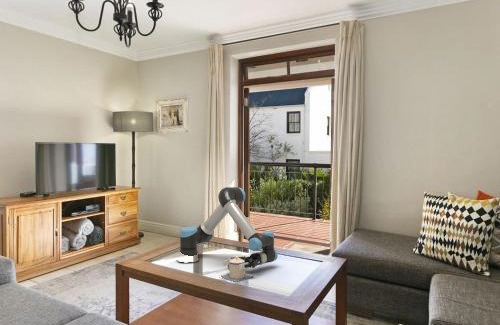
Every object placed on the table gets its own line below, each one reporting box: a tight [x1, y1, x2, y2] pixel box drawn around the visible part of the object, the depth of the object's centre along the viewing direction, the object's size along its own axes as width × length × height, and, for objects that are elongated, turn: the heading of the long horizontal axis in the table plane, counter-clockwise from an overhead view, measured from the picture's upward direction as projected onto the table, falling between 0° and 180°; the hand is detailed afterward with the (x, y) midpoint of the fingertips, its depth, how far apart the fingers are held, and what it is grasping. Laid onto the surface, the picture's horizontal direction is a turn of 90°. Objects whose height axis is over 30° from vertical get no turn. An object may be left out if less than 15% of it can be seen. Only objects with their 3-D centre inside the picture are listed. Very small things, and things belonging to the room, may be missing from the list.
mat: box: [220, 273, 254, 283], centre depth 179 cm, size 14×14×1 cm
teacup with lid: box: [227, 255, 245, 279], centre depth 179 cm, size 12×9×12 cm
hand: (231, 264), depth 177 cm, fingers open, 13 cm apart
